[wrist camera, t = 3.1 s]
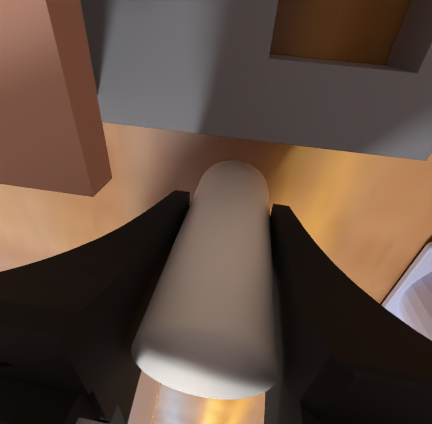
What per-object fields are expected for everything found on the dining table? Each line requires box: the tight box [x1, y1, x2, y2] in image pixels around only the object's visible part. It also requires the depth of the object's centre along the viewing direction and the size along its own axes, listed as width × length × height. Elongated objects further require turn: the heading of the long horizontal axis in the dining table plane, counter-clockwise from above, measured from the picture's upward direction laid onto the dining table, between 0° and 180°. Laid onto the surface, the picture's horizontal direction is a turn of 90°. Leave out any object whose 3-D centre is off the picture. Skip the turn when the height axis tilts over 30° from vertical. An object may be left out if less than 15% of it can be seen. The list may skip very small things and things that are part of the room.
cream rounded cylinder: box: [128, 371, 161, 424], centre depth 16 cm, size 7×7×15 cm
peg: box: [131, 160, 278, 399], centre depth 9 cm, size 3×3×8 cm
